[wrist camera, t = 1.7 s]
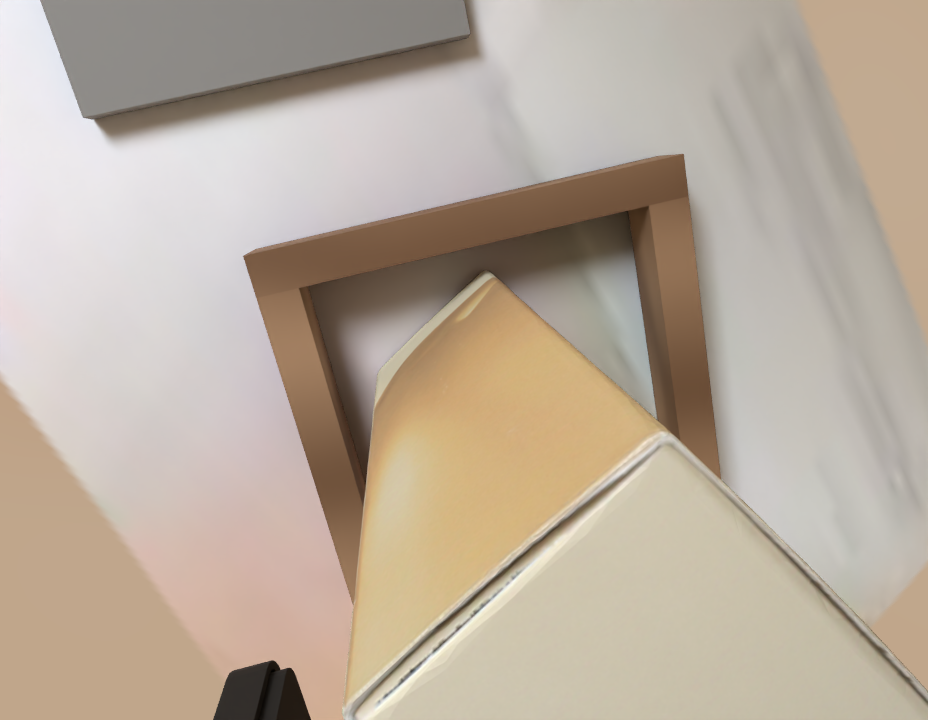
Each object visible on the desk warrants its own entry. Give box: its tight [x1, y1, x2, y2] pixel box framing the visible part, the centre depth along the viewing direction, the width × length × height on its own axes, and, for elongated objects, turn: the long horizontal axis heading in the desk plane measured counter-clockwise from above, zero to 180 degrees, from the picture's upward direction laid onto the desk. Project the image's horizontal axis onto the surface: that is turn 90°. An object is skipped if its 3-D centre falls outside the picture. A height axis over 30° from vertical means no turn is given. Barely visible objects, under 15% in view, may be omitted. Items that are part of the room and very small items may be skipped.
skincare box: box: [342, 270, 928, 720], centre depth 13 cm, size 6×4×12 cm
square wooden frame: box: [243, 154, 721, 605], centre depth 18 cm, size 11×11×2 cm
